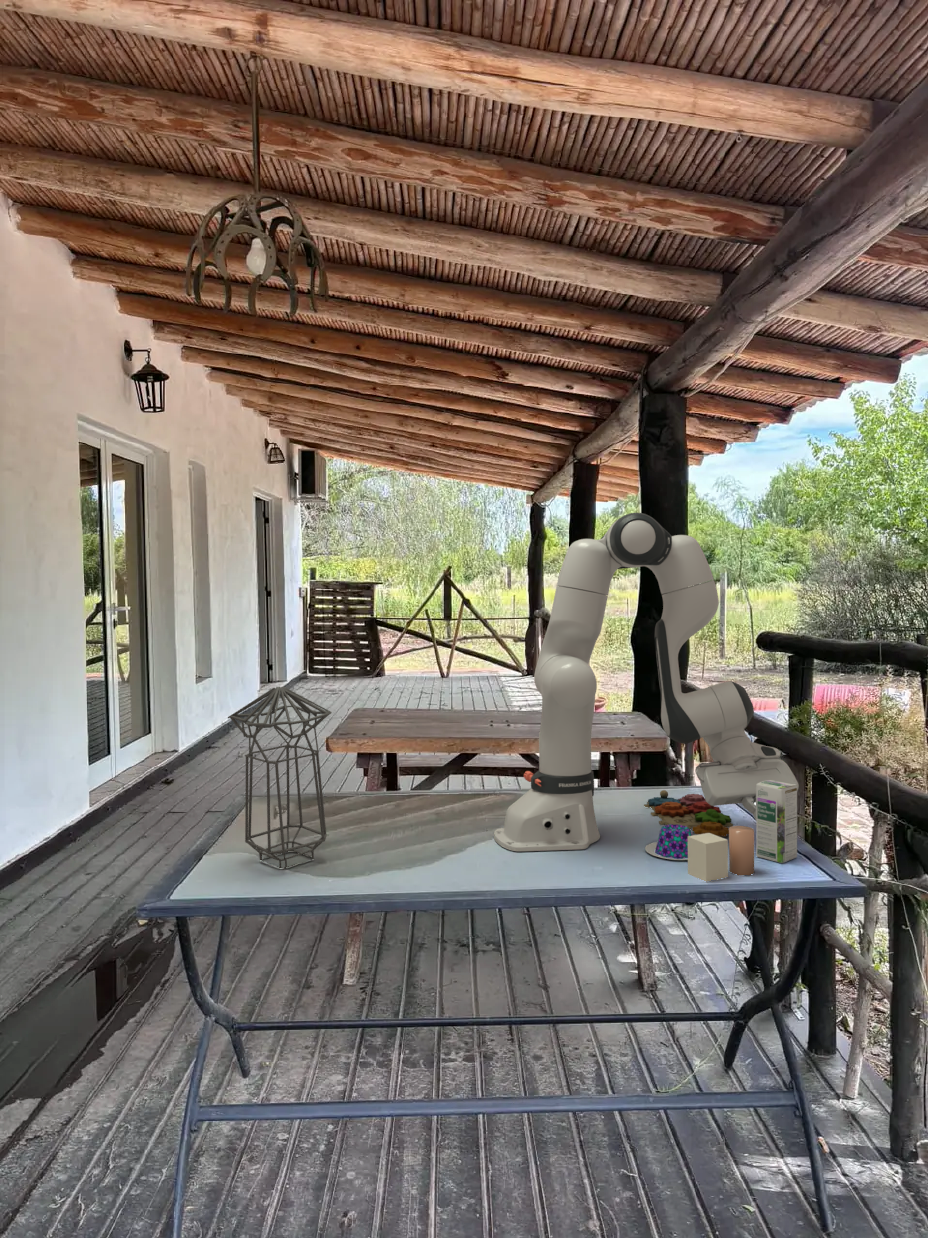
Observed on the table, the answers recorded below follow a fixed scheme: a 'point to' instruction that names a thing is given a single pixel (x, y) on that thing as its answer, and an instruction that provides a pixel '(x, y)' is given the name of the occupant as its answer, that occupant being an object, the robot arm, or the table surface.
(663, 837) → the pudding
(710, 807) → the gear puzzle
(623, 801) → the table surface
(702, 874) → the cream block
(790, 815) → the syrup box
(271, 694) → the geometric lantern
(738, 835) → the terracotta cylinder
